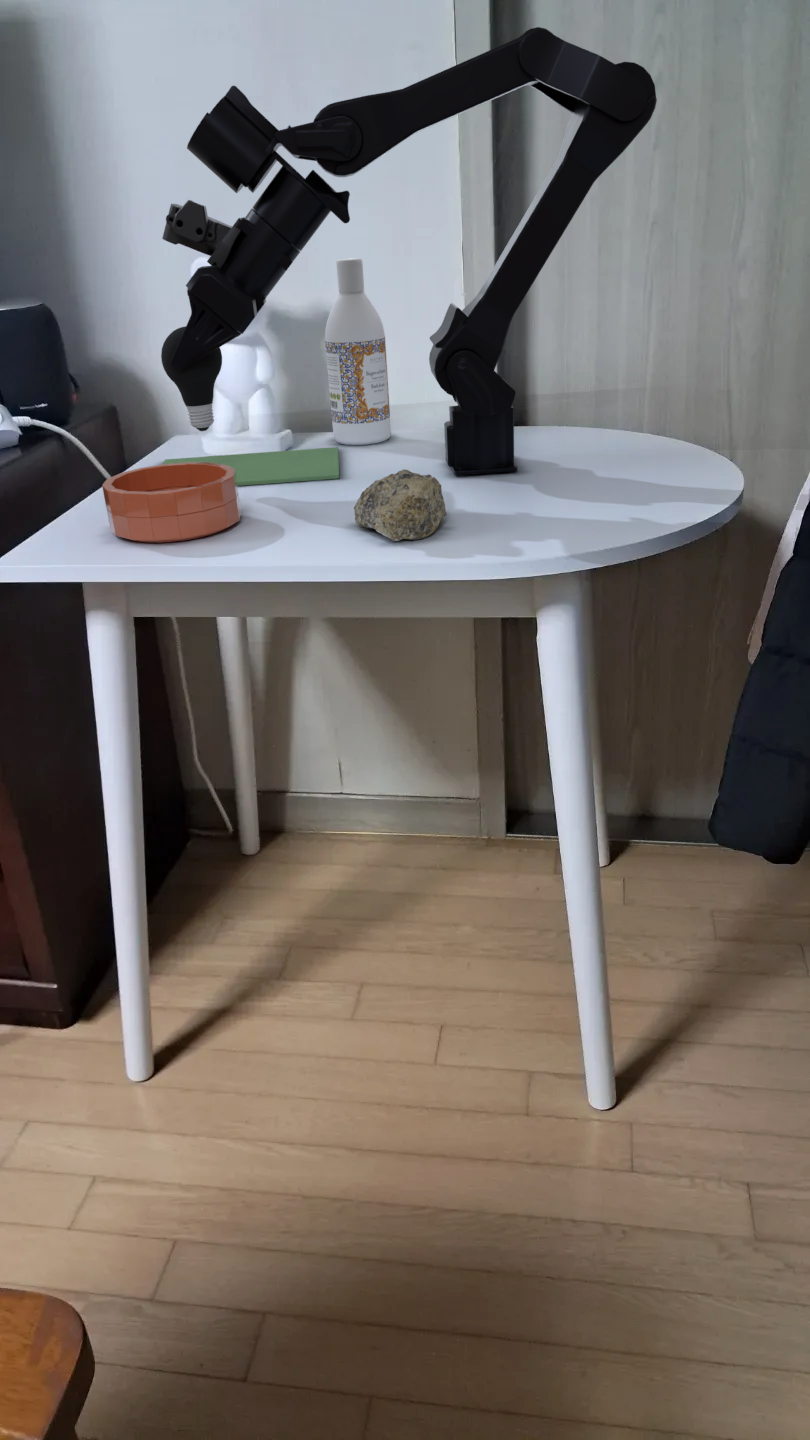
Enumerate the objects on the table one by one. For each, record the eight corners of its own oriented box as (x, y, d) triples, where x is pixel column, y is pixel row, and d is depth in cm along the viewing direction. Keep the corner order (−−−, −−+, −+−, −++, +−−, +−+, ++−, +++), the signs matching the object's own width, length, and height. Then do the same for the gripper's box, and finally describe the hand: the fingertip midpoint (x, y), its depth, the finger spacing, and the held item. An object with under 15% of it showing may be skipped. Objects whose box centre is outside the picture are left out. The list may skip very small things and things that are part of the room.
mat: (338, 450, 120) (337, 446, 120) (339, 478, 107) (339, 474, 107) (165, 462, 119) (165, 459, 119) (146, 492, 107) (145, 488, 106)
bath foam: (360, 448, 120) (346, 261, 111) (322, 442, 124) (305, 261, 116) (403, 437, 124) (392, 256, 115) (364, 431, 129) (351, 256, 120)
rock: (468, 531, 88) (466, 478, 85) (383, 547, 85) (379, 492, 83) (431, 512, 93) (429, 462, 91) (351, 527, 91) (347, 475, 89)
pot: (245, 505, 100) (239, 458, 98) (235, 539, 89) (228, 488, 87) (124, 514, 99) (116, 467, 97) (101, 549, 89) (91, 498, 87)
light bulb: (187, 440, 101) (169, 331, 96) (165, 432, 105) (147, 328, 101) (241, 429, 103) (226, 323, 99) (218, 422, 108) (203, 321, 103)
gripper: (216, 169, 102) (126, 298, 107) (193, 162, 86) (88, 314, 90) (304, 250, 106) (213, 371, 111) (299, 257, 89) (193, 399, 94)
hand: (178, 363), depth 101 cm, fingers closed on light bulb, 6 cm apart
